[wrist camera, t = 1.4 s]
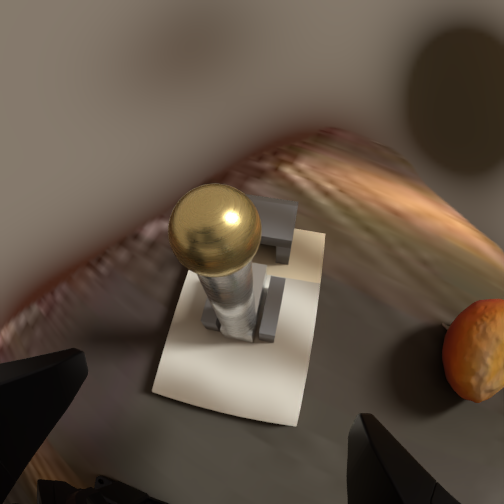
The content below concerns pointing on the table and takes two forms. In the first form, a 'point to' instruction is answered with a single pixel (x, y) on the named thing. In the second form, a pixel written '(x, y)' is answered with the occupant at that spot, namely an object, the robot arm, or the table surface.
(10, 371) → the robot arm
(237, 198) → the gold knob lever
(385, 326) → the table surface
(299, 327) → the board
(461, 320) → the fruit
